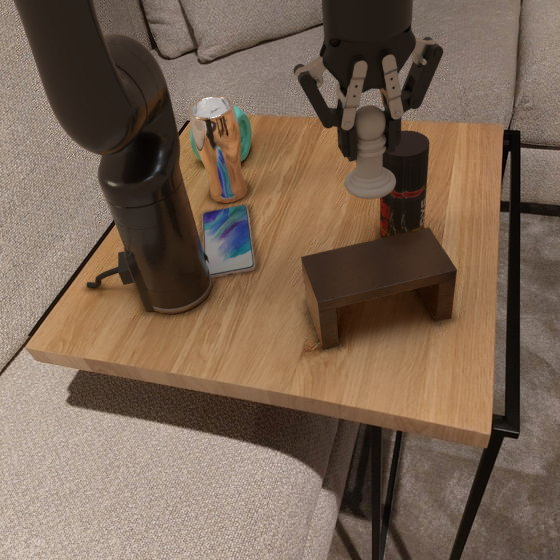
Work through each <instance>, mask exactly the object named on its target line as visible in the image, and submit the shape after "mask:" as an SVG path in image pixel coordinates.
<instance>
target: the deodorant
mask: <svg viewBox="0 0 560 560" xmlns="http://www.w3.org/2000/svg"><path fill="white" fill-rule="evenodd" d="M429 157H430V139H429V138H428V137H427V135H425V134H424V133H421V132H419V131H414V130H401V141H400V144H399V145H398V146H395V152H391V153H387V152H386V150H385V152H384V153H383V161H382V167H384V168H386V169H388V170H389V171H391V172H392V173H393V174H394V176H395V179H396V184H395V187H394V189H393V190H392V191H391V192H390V193H389V194H387V195H386V196H383V197H381V198H379V239H380V238H384V237H389V236H393V235H397V234H402V233H406V232H410V231H415V230H419V229H423V228H425V219H426V217H425V216H426V202H427V187H428V171H429V159H430V158H429Z"/></svg>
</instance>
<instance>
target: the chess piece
mask: <svg viewBox="0 0 560 560" xmlns="http://www.w3.org/2000/svg"><path fill="white" fill-rule="evenodd" d="M383 111H384V110H382V109H381V108H380V107H378V106H376V105H373V104H367V105H363V106H360V107H358V108H357V109H356V115H355V120H354V126H355V128H356V140H357V160H356V161H355V168H354V169H353V170H351V171H350V172H348V173H347V175H346V176H345V178H344V182H343V183H344V188H345V189H346V191H347V193H349V194H350V195H351V196H353V197H356V198H357V199H358V198H359V199H363V200H376V199H380V198H381V197H383V196H386V195H387V194H389V193H390V192H391V191H392V190H393V189H394V187H395V184H396V179H395V176H394V174H393V173H392V172H391V171H389V170H388V169H386V168H384V167H382V161H383V153H384V152H385V150H386V144H385V143H386V136H385V135H384V134H383V131H384V129H385V125H386V118H385V115H384V113H383Z"/></svg>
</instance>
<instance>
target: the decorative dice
mask: <svg viewBox="0 0 560 560" xmlns="http://www.w3.org/2000/svg"><path fill="white" fill-rule="evenodd" d="M233 106H234V110H235V113H236V117H237V120H238V125H239V130H240V137H241V163H242V162H244V160H245V159H246V158H247V157H248V155H249V153H250V150H251V145H252V124H251V121H250V118H249V116H248V115H247V114H246V113H245V112H244V111H243V110H242V109H241V108H240V107H238V106H237V105H234V104H233ZM189 140H190V146H191V149H192V152H193V153H194V155H195V156H196V158H197V159H198V160H199V161H200V162H202V160H201V157H200V155H199V153H198V150H197V148H196V145H195V142H194V138H193V134H192V129H191V128H190V131H189Z"/></svg>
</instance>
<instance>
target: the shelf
mask: <svg viewBox="0 0 560 560" xmlns="http://www.w3.org/2000/svg"><path fill="white" fill-rule="evenodd" d="M300 261H301V262H300V263H301V270H302V277H303V286H304V293H305V303H306V305H307V309H308V311H309V314H310V318H311V320H312V322H313V323H312V324H313V326H314V329H315V331H316V335H317V337H318V340H319V343H320V346H321V348H322V350H326V349H331V348H334V347H338V346H339V345H340V344H339V342H340V341H339V328H338V315H337V308H341V307H345V306H350V305H354V304H357V303H362V302H367V301H370V300H375V299H379V298H383V297H387V296H392V295H396V294H400V293H404V292H409V291H414V290H417V291H418V293H419V296H420V297H421V298H422V300H423V302H424V304H425V306H426V307H427V310H428V311H429V312H430V315H431V316H432V318H433V320H434V322H435V323H437V322H440V321H446V320H450V319H452V316H453V308H454V299H455V293H456V292H455V291H456V283H457V275H458V269H457V268H456V266H455V264H454V263H453V261H452V259H451V258H450V257H449V255H448V253H447V252H446V250H445V249H444V247H443V245H442V244H441V243H440V241H439V240H438V238H437V237H436V235H435V234H434V232H433V231H432V229H431V228H430V226H429V227H427V226H426V227H424V228H423V229H419V230H415V231H410V232H406V233H402V234H397V235H393V236H389V237H384V238H380V237H379V238H375V239H371V240H368V241H363V242H359V243H354V244H349V245H346V246H342V247H338V248H332V249H328V250H323V251H320V252H315V253H312V254H311V253H310V254H307V255H303V256H300Z"/></svg>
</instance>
